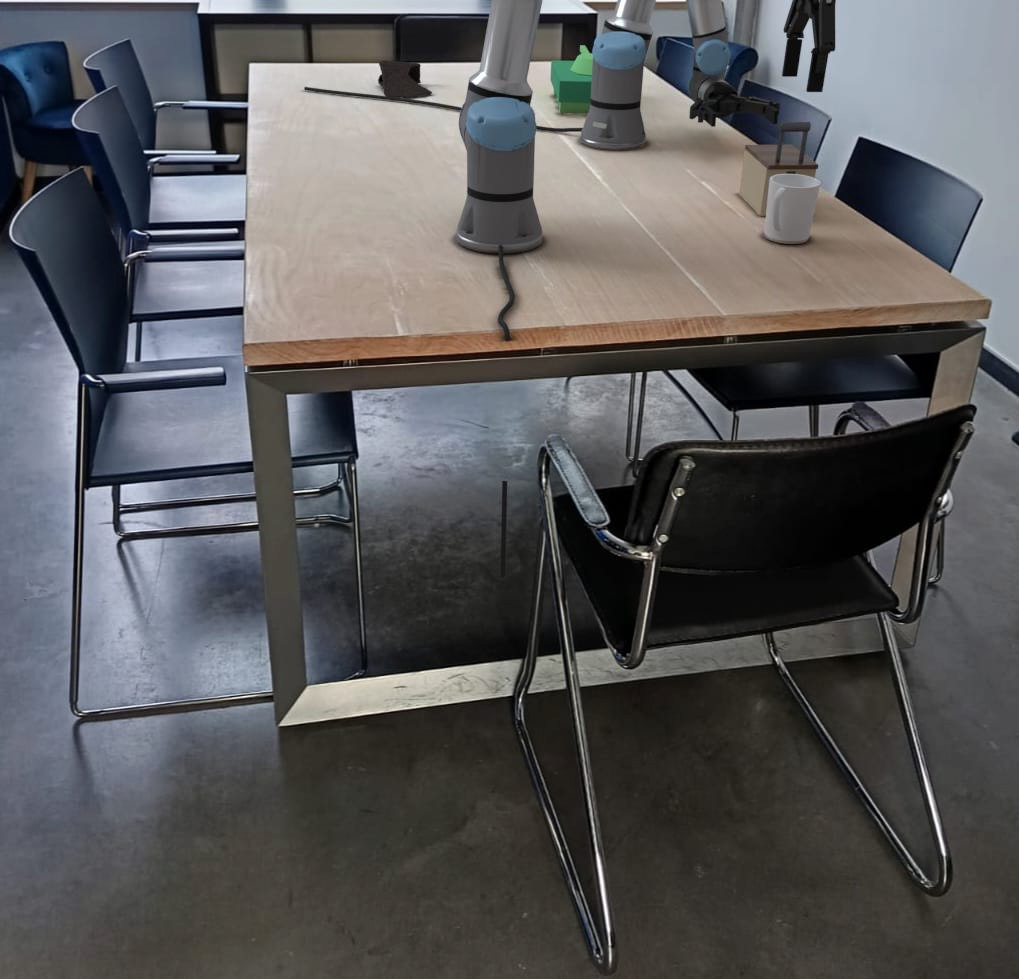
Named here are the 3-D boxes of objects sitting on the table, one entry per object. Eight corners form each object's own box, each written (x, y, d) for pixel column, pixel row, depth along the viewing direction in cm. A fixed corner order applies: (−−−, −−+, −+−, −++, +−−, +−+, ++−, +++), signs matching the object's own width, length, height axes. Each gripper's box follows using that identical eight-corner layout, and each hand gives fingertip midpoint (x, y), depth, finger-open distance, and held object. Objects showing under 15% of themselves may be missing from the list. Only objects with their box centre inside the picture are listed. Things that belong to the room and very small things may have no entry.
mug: (775, 225, 205) (784, 170, 200) (819, 236, 201) (829, 180, 195) (747, 240, 198) (754, 183, 193) (791, 251, 193) (801, 193, 188)
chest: (808, 215, 212) (816, 168, 207) (759, 216, 211) (766, 168, 206) (785, 193, 224) (791, 148, 219) (738, 194, 223) (744, 149, 218)
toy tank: (613, 42, 302) (631, 66, 272) (610, 88, 309) (627, 117, 279) (549, 40, 301) (560, 65, 272) (547, 87, 308) (558, 116, 278)
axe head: (443, 87, 294) (392, 77, 287) (436, 115, 299) (385, 106, 292) (421, 62, 307) (371, 52, 300) (414, 89, 311) (365, 80, 304)
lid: (817, 169, 207) (825, 125, 202) (768, 169, 206) (774, 125, 201) (792, 148, 219) (798, 106, 215) (744, 148, 218) (750, 107, 214)
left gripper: (869, -36, 179) (846, 98, 190) (816, -52, 200) (798, 70, 211) (825, -37, 178) (804, 98, 190) (777, -52, 200) (761, 70, 211)
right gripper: (769, 112, 256) (799, 134, 238) (664, 117, 254) (686, 139, 236) (772, 78, 252) (803, 98, 234) (666, 83, 250) (689, 103, 232)
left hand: (801, 84), depth 201 cm, fingers open, 13 cm apart
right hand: (745, 118), depth 235 cm, fingers open, 13 cm apart
